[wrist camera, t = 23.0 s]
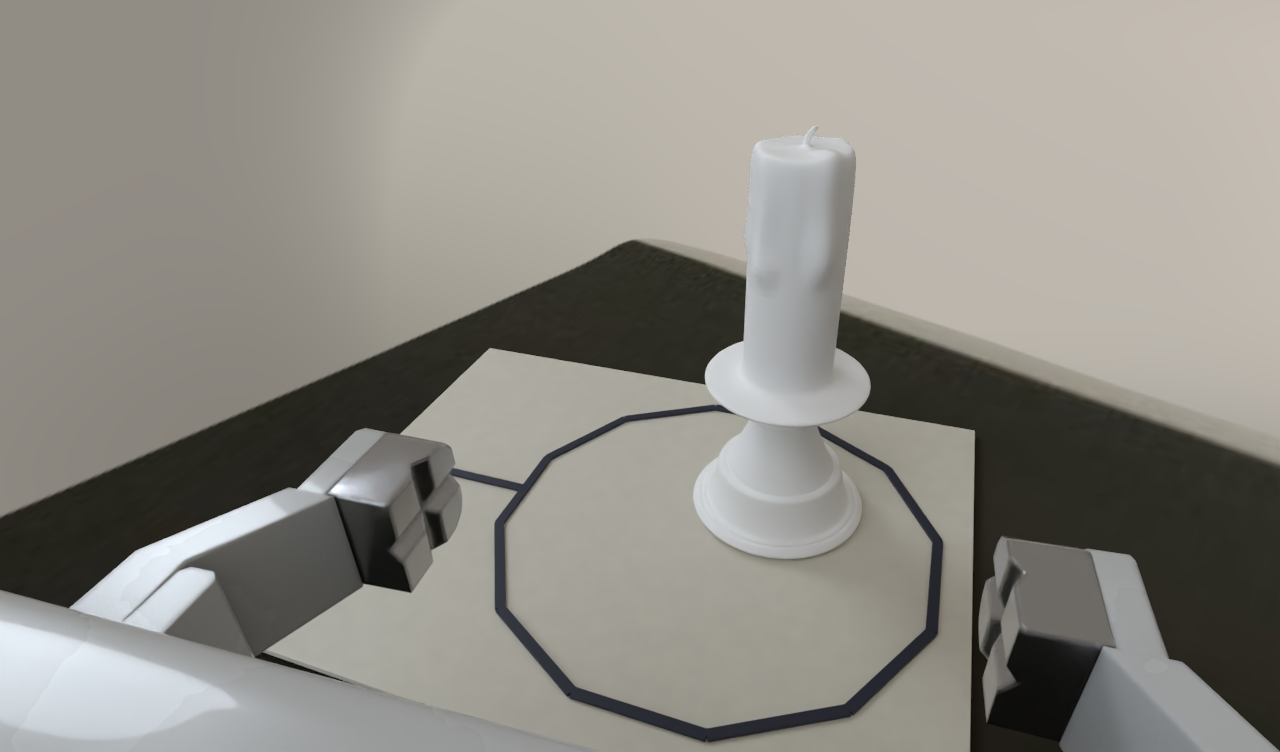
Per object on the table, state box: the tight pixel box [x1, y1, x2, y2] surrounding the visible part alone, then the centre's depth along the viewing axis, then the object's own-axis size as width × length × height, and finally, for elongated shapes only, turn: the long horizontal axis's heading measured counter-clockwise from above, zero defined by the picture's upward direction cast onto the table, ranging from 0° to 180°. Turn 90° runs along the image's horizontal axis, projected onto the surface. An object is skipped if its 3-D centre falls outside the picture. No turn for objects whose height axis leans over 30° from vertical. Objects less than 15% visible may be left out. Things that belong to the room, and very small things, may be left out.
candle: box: [693, 126, 871, 559], centre depth 21 cm, size 5×5×12 cm
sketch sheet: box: [263, 348, 975, 752], centre depth 24 cm, size 20×16×1 cm
